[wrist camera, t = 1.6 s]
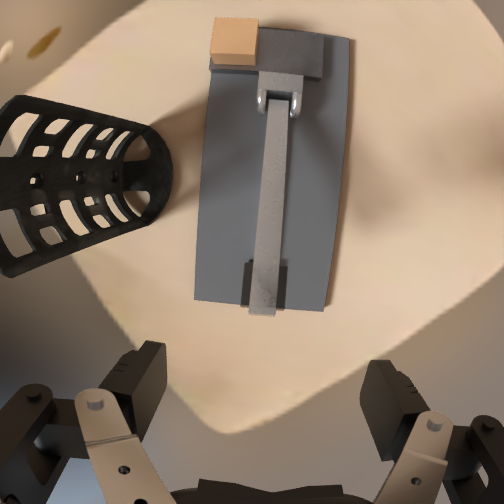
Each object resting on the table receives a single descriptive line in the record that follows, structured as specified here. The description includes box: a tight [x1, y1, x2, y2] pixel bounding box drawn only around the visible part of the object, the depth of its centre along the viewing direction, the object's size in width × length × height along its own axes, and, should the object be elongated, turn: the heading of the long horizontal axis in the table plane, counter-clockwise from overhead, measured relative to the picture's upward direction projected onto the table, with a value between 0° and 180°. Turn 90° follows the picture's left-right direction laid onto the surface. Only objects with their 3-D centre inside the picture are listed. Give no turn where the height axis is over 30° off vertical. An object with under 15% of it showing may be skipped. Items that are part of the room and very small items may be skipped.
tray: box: [194, 27, 349, 312], centre depth 31 cm, size 30×14×1 cm, turn 175°
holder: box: [0, 95, 173, 278], centre depth 23 cm, size 11×8×20 cm
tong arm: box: [240, 99, 289, 317], centre depth 25 cm, size 19×3×1 cm, turn 176°
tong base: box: [209, 29, 324, 263], centre depth 29 cm, size 27×11×3 cm, turn 175°
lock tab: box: [210, 18, 259, 66], centre depth 25 cm, size 4×4×3 cm
